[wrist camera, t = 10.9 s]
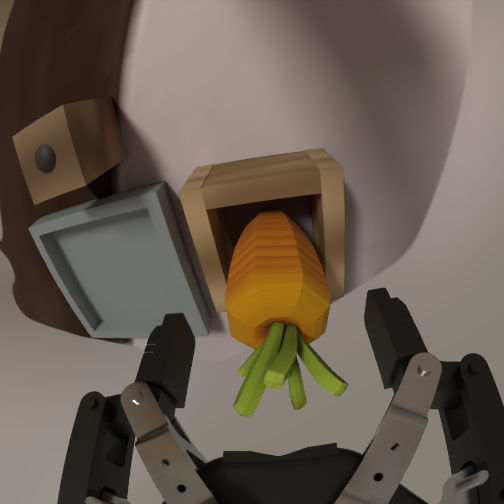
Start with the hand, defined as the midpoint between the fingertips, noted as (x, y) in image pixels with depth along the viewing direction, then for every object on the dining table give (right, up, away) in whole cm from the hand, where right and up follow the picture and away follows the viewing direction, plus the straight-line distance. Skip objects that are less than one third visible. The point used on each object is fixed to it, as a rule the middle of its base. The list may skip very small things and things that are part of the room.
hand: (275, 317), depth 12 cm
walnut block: (-13, +11, +6) cm, 18 cm away
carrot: (0, +6, +9) cm, 11 cm away
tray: (-13, +1, +12) cm, 18 cm away
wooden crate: (0, +6, +9) cm, 11 cm away
